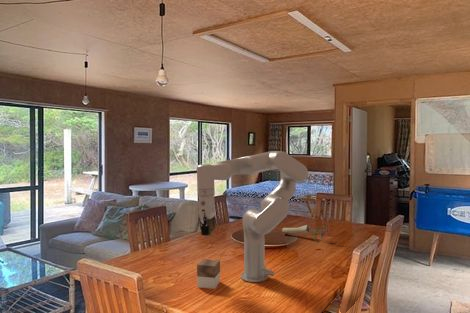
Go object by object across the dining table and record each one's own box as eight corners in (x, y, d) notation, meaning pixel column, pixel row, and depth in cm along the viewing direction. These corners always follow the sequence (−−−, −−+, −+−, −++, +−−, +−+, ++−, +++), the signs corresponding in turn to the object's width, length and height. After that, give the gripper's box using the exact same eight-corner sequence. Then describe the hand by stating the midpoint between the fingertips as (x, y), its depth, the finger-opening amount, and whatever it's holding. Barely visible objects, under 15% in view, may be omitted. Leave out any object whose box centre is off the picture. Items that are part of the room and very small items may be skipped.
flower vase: (289, 244, 242) (335, 242, 219) (279, 243, 233) (326, 240, 211) (289, 227, 246) (334, 223, 224) (279, 225, 237) (325, 220, 215)
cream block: (219, 282, 156) (219, 271, 156) (215, 289, 148) (215, 277, 148) (202, 280, 158) (202, 269, 157) (197, 287, 150) (197, 276, 150)
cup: (198, 234, 155) (197, 216, 155) (214, 233, 157) (213, 215, 157) (200, 238, 148) (199, 220, 148) (217, 237, 149) (216, 218, 149)
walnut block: (220, 271, 156) (220, 260, 155) (214, 277, 148) (214, 266, 148) (203, 269, 157) (203, 259, 157) (197, 276, 150) (197, 264, 150)
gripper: (208, 195, 142) (210, 238, 143) (219, 189, 159) (220, 228, 160) (191, 195, 144) (193, 238, 144) (203, 189, 161) (204, 227, 161)
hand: (207, 232), depth 152 cm, fingers closed on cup, 6 cm apart
